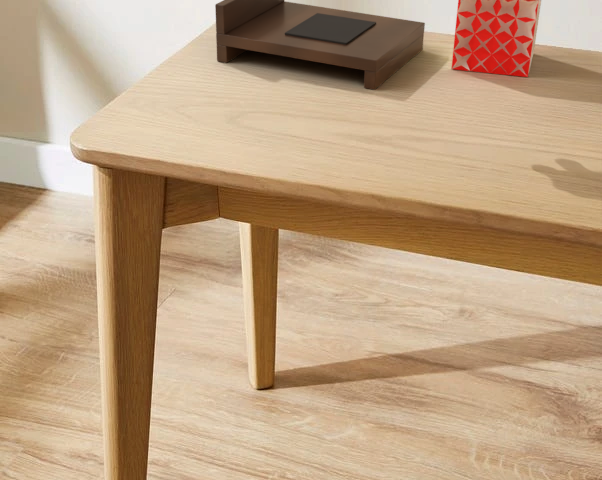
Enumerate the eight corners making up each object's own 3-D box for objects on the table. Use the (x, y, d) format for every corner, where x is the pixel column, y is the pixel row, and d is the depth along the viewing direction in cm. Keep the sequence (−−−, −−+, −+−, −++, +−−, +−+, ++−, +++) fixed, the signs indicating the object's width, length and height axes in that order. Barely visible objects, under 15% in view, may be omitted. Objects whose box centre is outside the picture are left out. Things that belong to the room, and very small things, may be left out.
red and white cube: (461, 46, 109) (469, -27, 104) (533, 53, 107) (544, -21, 103) (451, 69, 102) (458, -8, 98) (527, 77, 100) (538, -1, 96)
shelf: (422, 49, 107) (427, -6, 104) (374, 90, 97) (378, 30, 93) (276, 25, 114) (277, -27, 111) (216, 61, 103) (214, 4, 100)
